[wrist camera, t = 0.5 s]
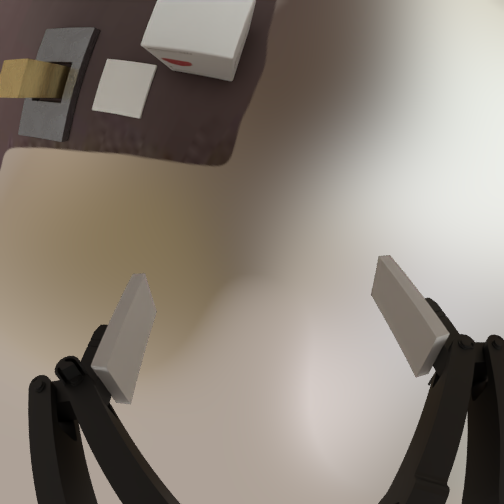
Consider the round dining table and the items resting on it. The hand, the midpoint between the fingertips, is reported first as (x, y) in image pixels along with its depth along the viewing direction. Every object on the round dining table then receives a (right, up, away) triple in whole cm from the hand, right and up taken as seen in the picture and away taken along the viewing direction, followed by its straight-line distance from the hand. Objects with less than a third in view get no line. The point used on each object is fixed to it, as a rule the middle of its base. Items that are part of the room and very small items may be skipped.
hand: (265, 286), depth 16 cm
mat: (-19, +25, +17) cm, 35 cm away
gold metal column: (-31, +28, +15) cm, 44 cm away
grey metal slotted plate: (-31, +28, +15) cm, 44 cm away
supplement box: (-6, +29, +16) cm, 34 cm away
